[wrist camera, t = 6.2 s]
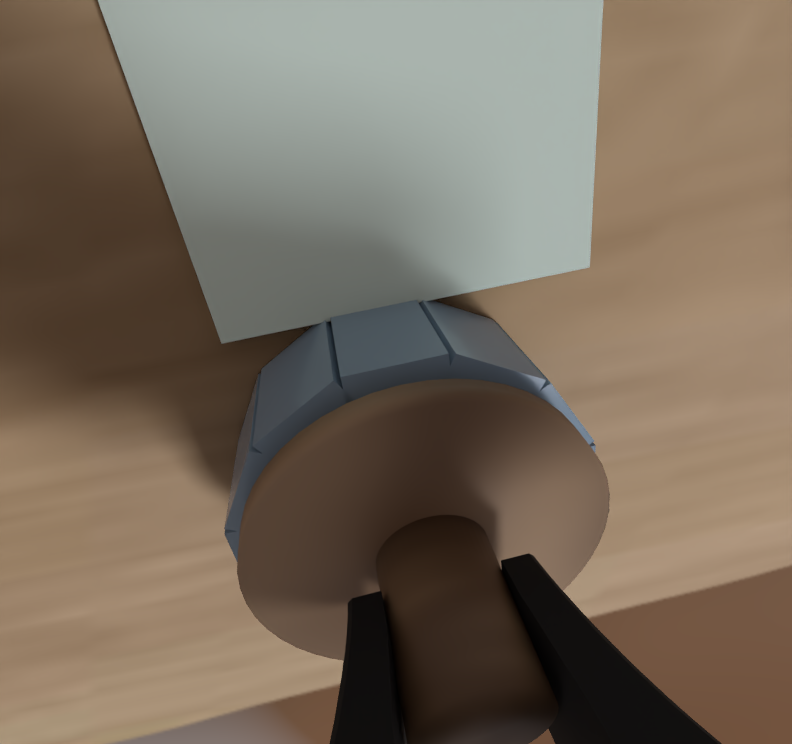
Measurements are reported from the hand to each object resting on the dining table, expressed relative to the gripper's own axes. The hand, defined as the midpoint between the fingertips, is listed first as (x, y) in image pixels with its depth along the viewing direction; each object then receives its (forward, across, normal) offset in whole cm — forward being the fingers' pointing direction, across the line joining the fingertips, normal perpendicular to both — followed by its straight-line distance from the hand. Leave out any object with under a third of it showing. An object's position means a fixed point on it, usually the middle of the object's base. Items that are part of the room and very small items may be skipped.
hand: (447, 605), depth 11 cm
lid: (+2, 0, 0) cm, 2 cm away
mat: (+6, -1, -10) cm, 11 cm away
